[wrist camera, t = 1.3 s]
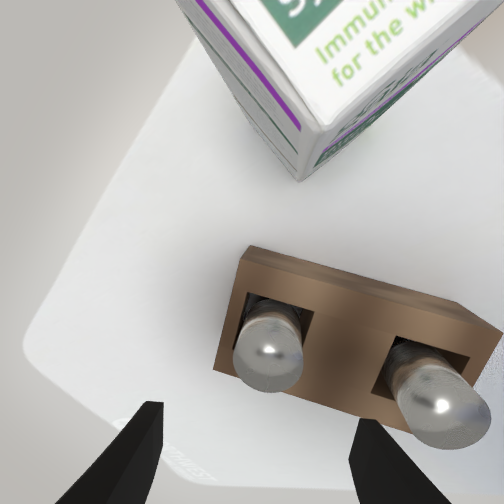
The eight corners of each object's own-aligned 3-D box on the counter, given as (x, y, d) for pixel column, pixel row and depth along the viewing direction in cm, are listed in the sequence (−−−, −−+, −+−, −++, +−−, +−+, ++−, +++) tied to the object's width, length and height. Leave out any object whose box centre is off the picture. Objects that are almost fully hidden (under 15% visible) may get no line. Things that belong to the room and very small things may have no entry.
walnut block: (457, 302, 18) (503, 333, 14) (411, 394, 20) (440, 443, 16) (250, 245, 19) (240, 258, 15) (226, 337, 21) (212, 369, 17)
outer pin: (307, 308, 16) (312, 342, 12) (291, 356, 17) (291, 401, 13) (252, 292, 16) (241, 321, 13) (239, 340, 17) (226, 380, 14)
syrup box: (299, 185, 18) (335, 158, 4) (243, 117, 17) (35, -224, 3) (371, 124, 16) (903, -324, 2) (312, 47, 16) (504, -1171, 2)
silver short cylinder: (454, 351, 15) (505, 401, 12) (429, 399, 16) (469, 459, 13) (393, 334, 16) (425, 377, 12) (372, 381, 17) (396, 435, 13)
